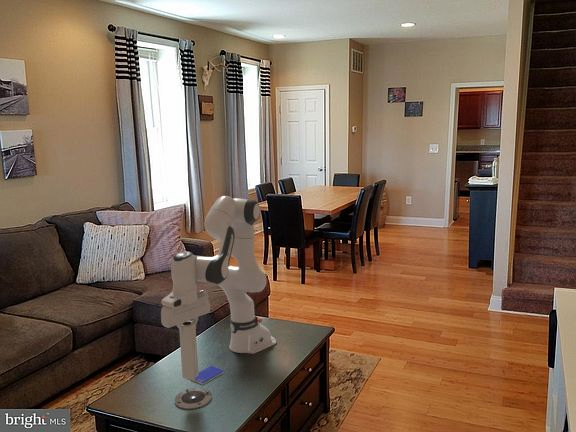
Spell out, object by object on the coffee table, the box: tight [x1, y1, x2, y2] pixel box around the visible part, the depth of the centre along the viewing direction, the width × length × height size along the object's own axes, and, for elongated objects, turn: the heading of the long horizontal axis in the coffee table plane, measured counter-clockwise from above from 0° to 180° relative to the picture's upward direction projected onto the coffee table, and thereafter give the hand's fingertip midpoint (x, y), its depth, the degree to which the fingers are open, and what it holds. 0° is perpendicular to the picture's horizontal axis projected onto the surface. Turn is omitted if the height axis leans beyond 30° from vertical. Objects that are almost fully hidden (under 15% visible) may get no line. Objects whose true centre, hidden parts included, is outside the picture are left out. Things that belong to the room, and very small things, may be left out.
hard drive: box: [191, 365, 225, 386], centre depth 212 cm, size 2×8×12 cm
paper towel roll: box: [179, 320, 199, 382], centre depth 190 cm, size 7×6×21 cm
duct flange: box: [174, 387, 213, 410], centre depth 194 cm, size 14×14×1 cm
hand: (188, 330), depth 189 cm, fingers closed on paper towel roll, 3 cm apart
